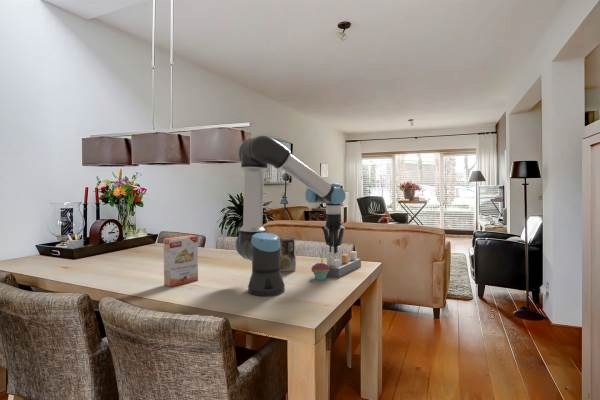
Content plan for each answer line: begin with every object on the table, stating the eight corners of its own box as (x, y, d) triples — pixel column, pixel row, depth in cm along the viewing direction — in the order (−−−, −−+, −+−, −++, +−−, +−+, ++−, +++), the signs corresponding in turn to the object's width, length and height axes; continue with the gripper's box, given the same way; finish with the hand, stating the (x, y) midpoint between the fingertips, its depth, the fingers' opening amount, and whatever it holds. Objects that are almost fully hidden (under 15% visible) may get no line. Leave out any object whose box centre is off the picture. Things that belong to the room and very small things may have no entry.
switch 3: (354, 260, 182) (354, 252, 182) (350, 259, 183) (350, 252, 183) (356, 259, 185) (356, 251, 184) (352, 258, 186) (352, 251, 186)
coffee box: (296, 268, 182) (295, 237, 182) (294, 271, 176) (294, 239, 175) (278, 268, 183) (278, 237, 183) (276, 271, 177) (276, 239, 176)
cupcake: (317, 275, 169) (316, 250, 168) (332, 277, 164) (332, 252, 164) (308, 279, 161) (308, 253, 161) (324, 281, 157) (324, 255, 157)
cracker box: (170, 287, 150) (169, 239, 149) (163, 285, 154) (162, 238, 153) (199, 280, 161) (198, 235, 160) (191, 278, 165) (190, 234, 164)
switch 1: (331, 266, 169) (331, 258, 169) (327, 265, 171) (327, 257, 170) (334, 264, 172) (334, 256, 171) (330, 264, 173) (329, 256, 173)
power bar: (339, 277, 164) (339, 268, 164) (322, 274, 169) (322, 266, 169) (361, 266, 186) (361, 258, 186) (345, 264, 191) (345, 256, 191)
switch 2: (346, 263, 175) (346, 255, 175) (341, 262, 176) (341, 254, 176) (348, 262, 177) (348, 254, 177) (344, 261, 179) (344, 253, 178)
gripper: (348, 213, 179) (348, 259, 180) (326, 212, 186) (326, 256, 187) (341, 214, 172) (341, 261, 173) (318, 213, 180) (319, 258, 181)
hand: (333, 258), depth 180 cm, fingers closed
